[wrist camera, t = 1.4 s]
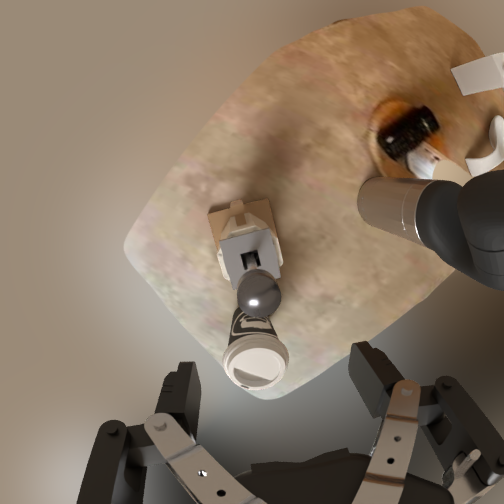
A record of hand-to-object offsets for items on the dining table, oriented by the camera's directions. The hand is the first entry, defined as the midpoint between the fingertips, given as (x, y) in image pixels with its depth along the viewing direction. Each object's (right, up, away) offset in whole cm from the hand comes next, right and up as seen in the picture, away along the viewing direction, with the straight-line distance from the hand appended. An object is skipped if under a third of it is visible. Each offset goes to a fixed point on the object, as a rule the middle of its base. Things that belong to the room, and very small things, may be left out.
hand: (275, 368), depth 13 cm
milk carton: (+50, +47, +26) cm, 73 cm away
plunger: (-1, +6, +21) cm, 22 cm away
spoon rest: (+58, +32, +31) cm, 73 cm away
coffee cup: (-1, -6, +37) cm, 37 cm away
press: (-2, +9, +33) cm, 34 cm away
